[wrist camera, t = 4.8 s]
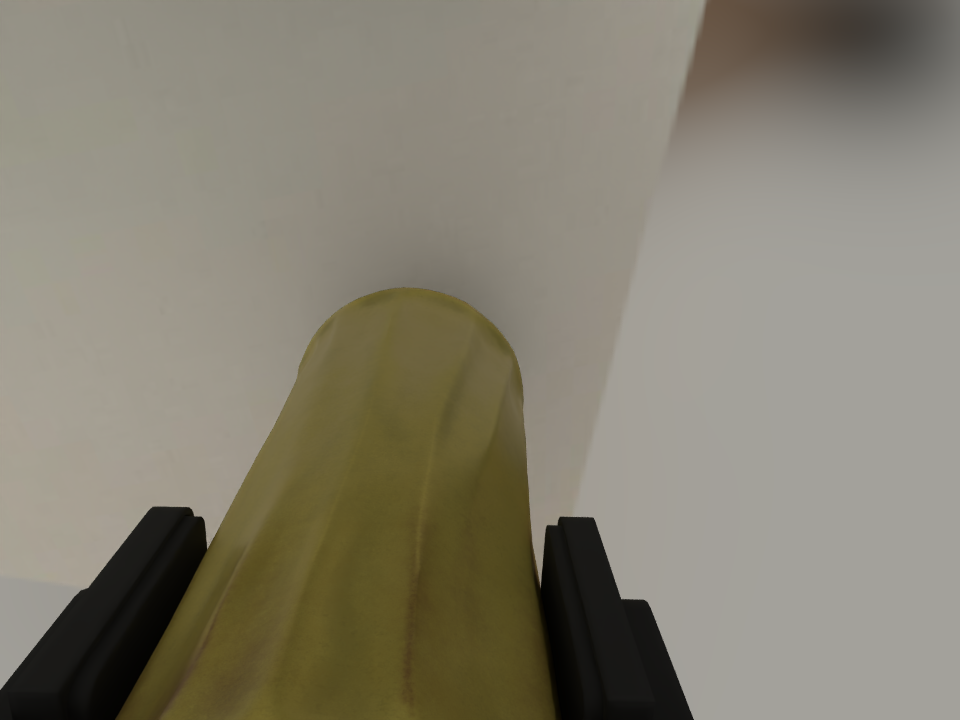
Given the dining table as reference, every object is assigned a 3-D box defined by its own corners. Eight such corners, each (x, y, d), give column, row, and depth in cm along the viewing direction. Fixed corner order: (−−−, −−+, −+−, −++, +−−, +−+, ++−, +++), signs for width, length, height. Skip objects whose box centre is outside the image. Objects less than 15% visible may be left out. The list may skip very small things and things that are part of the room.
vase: (481, 517, 21) (519, 1212, 8) (275, 459, 21) (-76, 1120, 7) (553, 326, 20) (763, 802, 6) (331, 255, 19) (3, 618, 5)
